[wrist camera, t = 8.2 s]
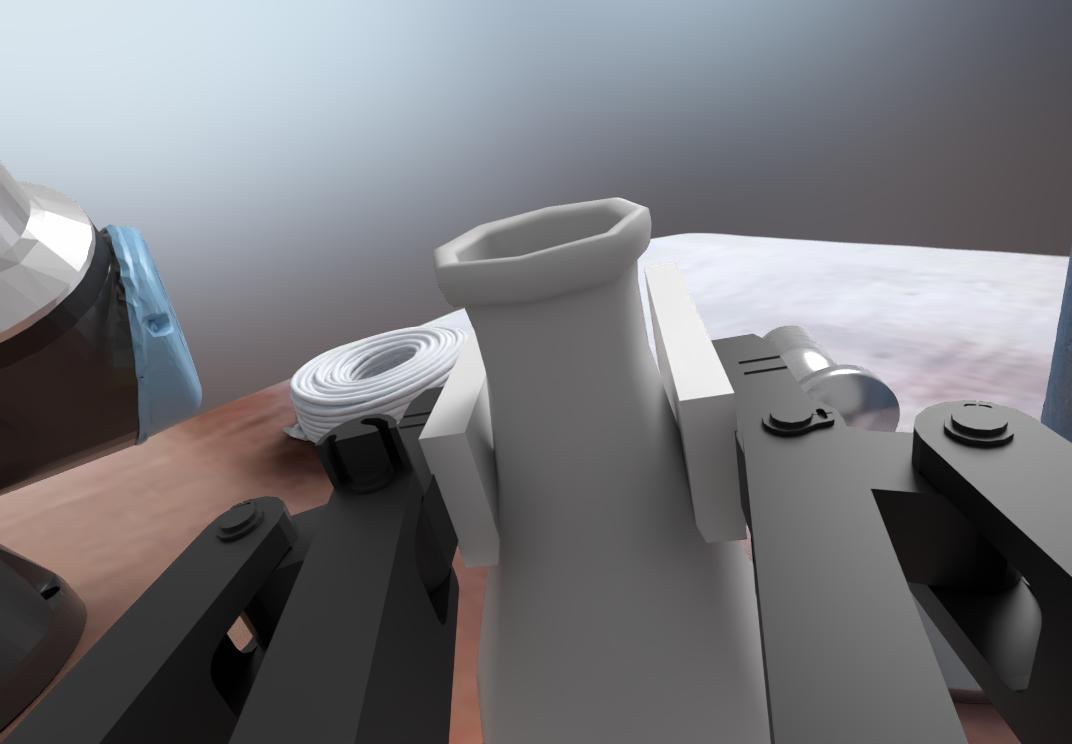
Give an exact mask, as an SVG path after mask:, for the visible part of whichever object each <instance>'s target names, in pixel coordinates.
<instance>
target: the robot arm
mask: <svg viewBox="0 0 1072 744" xmlns="http://www.w3.org/2000/svg"><path fill="white" fill-rule="evenodd" d="M644 271H645V278H646V285H647V291H648V298H649V305H650V312H651V319H652V325H653V332H654V339H655V346H656V352H657V359H658V366H659V370H660V375H661V379H662V383H663V386H664V388H665V391H666V394H667V397H668V400H669V402H670V405H671V408H672V411H673V414H674V416H675V419H676V422H677V425H678V428H679V430H680V435H681V442H682V447H683V453H684V459H685V464H686V470H687V476H688V482H689V487H690V493H691V499H692V504H693V510H694V516H695V521H696V526H697V528H698V529H699V531H700V533H701V534H702V536H703V538H704V539H705V541H706V543H715V542H725V541H735V540H745V539H747V534H746V522H747V525H748V528H749V531H750V534H751V545H752V557H753V570H754V582H755V594H756V598H757V609H758V619H759V629H760V639H761V649H762V659H763V669H764V680H765V690H766V700H767V710H768V720H769V730H770V741H771V744H969V743H968V740H967V738H966V735H965V733H964V730H963V727H962V725H961V722H960V720H959V717H958V714H957V712H956V709H955V707H954V704H953V701H952V699H951V696H950V694H949V691H948V688H947V686H946V683H945V681H944V678H943V675H942V673H941V670H940V668H939V665H938V662H937V660H936V657H935V655H934V652H933V649H932V647H931V644H930V642H929V639H928V636H927V634H926V631H925V629H924V626H923V624H922V621H921V618H920V616H919V613H918V611H917V608H916V605H915V603H914V600H913V598H912V595H911V593H912V594H913V596H914V597H915V598H916V600H917V601H918V602H919V604H920V605H921V606H922V608H923V609H924V611H925V612H926V613H927V615H928V616H929V617H930V619H931V620H932V622H933V623H934V624H935V626H936V627H937V628H938V630H939V631H940V633H941V634H942V635H943V637H944V638H945V639H946V641H947V642H948V643H949V645H950V646H951V648H952V649H953V650H954V652H955V653H956V654H957V656H958V657H959V659H960V660H961V661H962V663H963V664H964V665H965V667H966V668H967V669H968V671H969V672H970V674H971V675H972V676H973V678H974V679H975V680H976V682H977V683H978V685H979V686H980V687H981V689H982V690H983V691H984V693H985V694H986V696H987V697H988V698H989V700H990V701H991V702H992V704H993V705H994V706H995V708H996V709H997V711H998V712H999V713H1000V715H1001V716H1002V717H1003V719H1004V720H1005V722H1006V723H1007V724H1008V726H1009V727H1010V728H1011V730H1012V731H1013V732H1014V734H1015V735H1016V737H1017V738H1018V739H1019V741H1020V742H1021V743H1022V744H1072V443H1071V442H1069V441H1068V440H1066V439H1065V438H1063V437H1062V436H1060V435H1059V434H1057V433H1056V432H1054V431H1053V430H1051V429H1050V428H1048V427H1047V426H1045V425H1044V424H1042V423H1041V422H1039V421H1038V420H1036V419H1035V418H1033V417H1031V416H1028V415H1026V414H1024V413H1022V412H1020V411H1018V410H1016V409H1013V408H1009V407H1005V406H1001V405H997V404H994V403H990V402H983V401H979V402H976V401H957V402H944V403H941V404H937V405H934V406H931V407H928V408H926V409H924V410H923V411H922V412H921V413H919V414H918V415H917V416H916V418H915V424H914V432H913V433H904V432H883V431H871V430H861V429H857V428H852V427H848V426H846V424H845V421H844V419H843V418H842V416H841V415H840V414H839V413H838V411H837V410H836V409H834V408H832V407H830V406H828V405H826V404H824V403H822V402H818V401H814V400H810V399H809V398H808V396H807V395H806V393H805V392H804V390H803V389H802V387H801V386H800V384H799V383H798V381H797V380H796V378H795V377H794V375H793V374H792V372H791V371H790V369H788V368H787V365H786V364H785V362H784V361H783V359H782V358H780V355H779V353H778V352H777V350H776V349H775V347H774V346H773V344H772V343H771V342H769V341H767V340H765V339H763V338H761V337H759V336H757V335H755V334H749V335H743V336H737V337H731V338H724V339H718V340H712V341H711V340H710V337H709V335H708V333H707V331H706V329H705V326H704V324H703V322H702V320H701V317H700V315H699V313H698V311H697V308H696V306H695V304H694V302H693V300H692V297H691V295H690V293H689V291H688V288H687V286H686V284H685V282H684V280H683V277H682V275H681V273H680V271H679V268H678V266H677V264H676V262H670V263H665V264H659V265H654V266H649V267H644ZM201 399H202V390H201V386H200V383H199V379H198V376H197V373H196V370H195V367H194V364H193V361H192V358H191V355H190V353H189V350H188V347H187V344H186V341H185V339H184V336H183V333H182V331H181V328H180V325H179V323H178V320H177V317H176V315H175V312H174V309H173V307H172V304H171V302H170V299H169V297H168V294H167V292H166V289H165V287H164V284H163V281H162V279H161V276H160V274H159V271H158V269H157V266H156V264H155V262H154V259H153V257H152V255H151V252H150V250H149V248H148V246H147V244H146V242H145V240H144V238H143V237H142V236H141V233H140V232H139V231H138V230H137V229H136V228H134V227H131V226H121V227H116V226H113V225H109V226H107V227H105V228H102V230H101V231H100V232H98V230H97V229H96V227H95V226H94V225H93V223H92V222H91V220H90V219H89V218H88V216H87V215H86V213H85V212H84V211H83V210H82V209H81V208H80V207H79V206H78V205H77V203H76V202H75V201H73V200H72V199H70V198H69V197H67V196H66V195H64V194H62V193H60V192H58V191H55V190H53V189H50V188H47V187H44V186H41V185H36V184H31V183H26V182H20V181H16V180H15V179H14V178H13V176H12V175H11V174H10V172H9V171H8V170H7V169H6V167H5V166H4V165H3V163H2V162H1V161H0V496H1V495H3V494H6V493H9V492H11V491H14V490H17V489H19V488H22V487H25V486H27V485H30V484H33V483H35V482H38V481H41V480H43V479H46V478H48V477H51V476H54V475H56V474H59V473H62V472H64V471H67V470H70V469H72V468H75V467H78V466H80V465H83V464H86V463H88V462H91V461H94V460H96V459H99V458H102V457H104V456H107V455H110V454H112V453H115V452H118V451H120V450H123V449H125V448H128V447H131V446H133V445H140V444H142V443H144V442H145V441H146V440H147V439H148V438H149V437H151V436H153V435H155V434H157V433H160V432H162V431H164V430H166V429H168V428H171V427H173V426H175V425H177V424H179V423H182V422H184V421H186V420H187V419H189V418H190V417H192V416H193V415H194V414H195V412H196V411H197V410H198V408H199V406H200V403H201ZM314 447H315V449H316V451H317V453H318V455H319V457H320V459H321V462H322V464H323V466H324V468H325V470H326V472H327V474H328V477H329V479H330V481H331V483H332V485H333V487H334V489H333V492H332V494H331V497H330V499H329V502H328V504H325V505H323V506H320V507H317V508H314V509H311V510H308V511H305V512H302V513H299V514H296V515H293V516H291V515H290V513H289V511H288V509H287V507H286V506H285V504H284V502H283V501H281V500H280V499H279V498H278V497H267V496H266V497H261V498H256V499H250V500H247V501H244V502H243V503H239V504H237V505H235V506H233V507H232V508H230V510H228V511H227V512H225V513H223V514H222V515H220V516H219V517H218V518H216V519H215V520H214V521H213V522H212V523H211V524H209V525H208V526H207V527H206V528H205V529H204V530H203V531H202V532H201V533H200V535H199V536H198V537H197V538H196V539H195V540H194V541H193V542H192V543H191V544H190V545H189V546H188V547H187V548H186V549H185V550H184V551H183V552H182V553H181V554H180V556H179V557H178V558H177V559H176V560H175V561H174V562H173V563H172V564H171V565H170V566H169V567H168V568H167V569H166V570H165V571H164V572H163V573H162V574H161V576H160V577H159V578H158V579H157V580H156V581H155V582H154V583H153V584H152V585H151V586H150V587H149V588H148V589H147V590H146V591H145V592H144V593H143V594H142V595H141V597H140V598H139V599H138V600H137V601H136V602H135V603H134V604H133V605H132V606H131V607H130V608H129V609H128V610H127V611H126V612H125V613H124V614H123V615H122V617H121V618H120V619H119V620H118V621H117V622H116V623H115V624H114V625H113V626H112V627H111V628H110V629H109V630H108V631H107V632H106V633H105V634H104V635H103V637H102V638H101V639H100V640H99V641H98V642H97V643H96V644H95V645H94V646H93V647H92V648H91V649H90V650H89V651H88V652H87V653H86V654H85V655H84V656H83V658H82V659H81V660H80V661H79V662H78V663H77V664H76V665H75V666H74V667H73V668H72V669H71V670H70V671H69V672H68V673H67V674H66V675H65V676H64V678H63V679H62V680H61V681H60V682H59V683H58V684H57V685H56V686H55V687H54V688H53V689H52V690H51V691H50V692H49V693H48V694H47V695H46V696H45V698H44V699H43V700H42V701H41V702H40V703H39V704H38V705H37V706H36V707H35V708H34V709H33V710H32V711H31V712H30V713H29V714H28V715H27V716H26V717H25V719H24V720H23V721H22V722H21V723H20V724H19V725H18V726H17V727H16V728H15V729H14V730H13V731H12V732H11V733H10V734H9V735H8V736H7V737H6V739H5V740H4V741H3V742H2V743H1V744H449V729H450V715H451V700H452V685H453V670H454V655H455V641H456V626H457V611H458V596H459V585H458V580H457V576H456V574H455V571H454V569H453V566H452V561H453V558H454V555H455V551H456V548H457V544H458V547H459V549H460V552H461V555H462V557H463V560H464V563H465V566H466V568H471V567H481V566H490V565H498V560H499V546H500V530H499V512H498V494H497V476H496V461H495V454H494V446H493V436H492V427H491V417H490V408H489V398H488V389H487V379H486V371H485V367H484V363H483V360H482V356H481V353H480V349H479V345H478V342H477V338H476V334H475V331H474V328H473V329H472V331H471V333H470V335H469V337H468V339H467V341H466V343H465V345H464V347H463V349H462V351H461V353H460V355H459V357H458V359H457V361H456V363H455V365H454V367H453V370H452V372H451V374H450V376H449V378H448V380H447V382H446V384H445V386H442V387H436V388H430V389H426V390H425V391H423V392H422V393H421V394H420V395H419V396H417V397H416V398H415V399H414V400H413V401H412V402H410V404H409V406H408V408H407V410H406V411H405V413H404V415H403V419H401V420H400V422H399V424H397V421H396V419H395V418H393V417H392V416H390V415H387V414H371V415H364V416H361V417H358V418H355V419H352V420H349V421H346V422H345V423H343V424H341V425H339V426H337V427H335V428H333V429H332V430H330V431H329V432H328V433H326V434H325V435H323V436H322V437H321V438H320V440H319V441H318V442H317V443H316V444H315V446H314ZM745 519H746V522H745ZM910 591H911V592H910ZM86 616H87V615H86V608H85V605H84V603H83V602H82V601H81V599H80V598H79V597H78V596H77V594H76V593H75V592H74V591H73V589H72V588H71V587H70V586H69V584H68V583H67V582H66V581H65V580H64V579H63V578H62V577H60V576H59V575H57V574H56V573H54V572H52V571H50V570H48V569H46V568H44V567H42V566H41V565H39V564H37V563H35V562H33V561H31V560H29V559H28V558H26V557H24V556H22V555H20V554H18V553H16V552H14V551H13V550H11V549H9V548H7V547H5V546H3V545H1V544H0V730H1V729H2V728H3V727H5V726H6V725H7V724H8V723H9V722H10V721H11V720H12V719H14V718H15V717H16V716H17V715H18V714H19V713H20V712H21V711H22V710H23V709H24V708H25V707H26V706H27V705H28V704H29V703H30V702H31V701H32V700H33V699H34V698H35V697H36V696H37V695H38V694H39V693H40V692H41V691H42V690H43V689H44V688H45V687H46V685H47V684H48V683H49V682H50V681H51V680H52V679H53V677H54V676H55V675H56V674H57V672H58V671H59V670H60V669H61V667H62V666H63V665H64V663H65V662H66V661H67V659H68V658H69V656H70V655H71V653H72V652H73V650H74V648H75V647H76V645H77V643H78V641H79V639H80V637H81V635H82V632H83V630H84V627H85V623H86ZM239 616H240V617H241V618H242V620H243V621H244V623H245V625H246V626H247V628H248V629H249V631H250V633H251V634H252V636H253V637H252V639H251V640H250V642H249V643H248V645H246V646H245V647H244V648H243V649H242V650H241V651H240V650H238V649H237V648H236V647H235V645H234V644H233V642H232V641H231V639H230V638H229V636H228V635H227V632H228V631H229V629H230V628H231V626H232V625H233V624H234V622H235V621H236V620H237V618H238V617H239Z"/></svg>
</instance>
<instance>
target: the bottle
mask: <svg viewBox="0 0 1072 744" xmlns="http://www.w3.org/2000/svg"><path fill="white" fill-rule="evenodd" d="M1041 423H1042V424H1044V425H1045V426H1047V427H1048V428H1050V429H1051V430H1053V431H1054V432H1056V433H1057V434H1059V435H1060V436H1062V437H1063V438H1065V439H1066V440H1068V441H1069V442H1071V443H1072V247H1071V253H1070V259H1069V265H1068V271H1067V277H1066V284H1065V289H1064V294H1063V300H1062V306H1061V313H1060V318H1059V323H1058V328H1057V335H1056V342H1055V347H1054V352H1053V358H1052V364H1051V372H1050V376H1049V381H1048V387H1047V393H1046V399H1045V402H1044V405H1043V411H1042V416H1041Z"/></svg>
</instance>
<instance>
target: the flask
mask: <svg viewBox="0 0 1072 744" xmlns="http://www.w3.org/2000/svg"><path fill="white" fill-rule="evenodd" d="M650 235H651V219H650V214H649V209H648V208H646V207H644V206H641V205H638V204H635V203H633V202H630V201H627V200H625V199H622V198H610V199H602V200H595V201H588V202H581V203H574V204H568V205H560V206H553V207H547V208H543V209H539V210H536V211H532V212H528V213H524V214H521V215H517V216H513V217H510V218H506V219H502V220H498V221H494V222H491V223H487V224H483V225H480V226H478V227H476V228H474V229H472V230H470V231H468V232H466V233H465V234H463V235H461V236H460V237H457V238H456V239H454V240H452V241H450V242H449V243H447V244H445V245H443V246H441V247H440V248H438V249H436V250H434V251H433V257H434V268H435V274H436V278H437V282H438V286H439V288H440V290H441V291H442V293H443V295H444V297H445V298H446V300H447V302H448V303H449V304H450V305H452V306H453V307H455V308H456V307H465V310H466V312H467V314H468V317H469V319H470V321H471V324H472V326H473V328H474V331H475V334H476V338H477V342H478V345H479V349H480V353H481V356H482V360H483V363H484V367H485V371H486V379H487V389H488V398H489V408H490V417H491V427H492V436H493V446H494V454H495V461H496V476H497V494H498V512H499V530H500V546H499V560H498V565H490V566H488V572H487V581H486V590H485V598H484V607H483V616H482V625H481V633H480V642H479V652H478V666H477V685H478V695H479V705H480V715H481V725H482V735H483V744H771V741H770V730H769V720H768V710H767V700H766V690H765V680H764V669H763V659H762V649H761V639H760V629H759V619H758V609H757V598H756V594H755V582H754V570H753V563H752V562H751V560H750V558H749V557H748V555H747V553H746V552H745V550H744V548H743V546H742V545H741V543H740V541H739V540H735V541H725V542H715V543H706V541H705V539H704V538H703V536H702V534H701V533H700V531H699V529H698V528H697V526H696V521H695V516H694V510H693V504H692V499H691V493H690V487H689V482H688V476H687V470H686V464H685V459H684V453H683V447H682V442H681V435H680V430H679V428H678V425H677V422H676V419H675V416H674V414H673V411H672V408H671V405H670V402H669V400H668V397H667V394H666V391H665V388H664V386H663V383H662V380H661V377H660V374H659V371H658V369H657V366H656V363H655V360H654V357H653V355H652V352H651V349H650V346H649V342H648V336H647V330H646V325H645V319H644V313H643V307H642V301H641V295H640V289H639V284H638V266H637V259H638V258H639V257H640V256H641V255H642V254H643V253H644V252H645V250H646V249H647V247H648V245H649V243H650Z"/></svg>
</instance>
